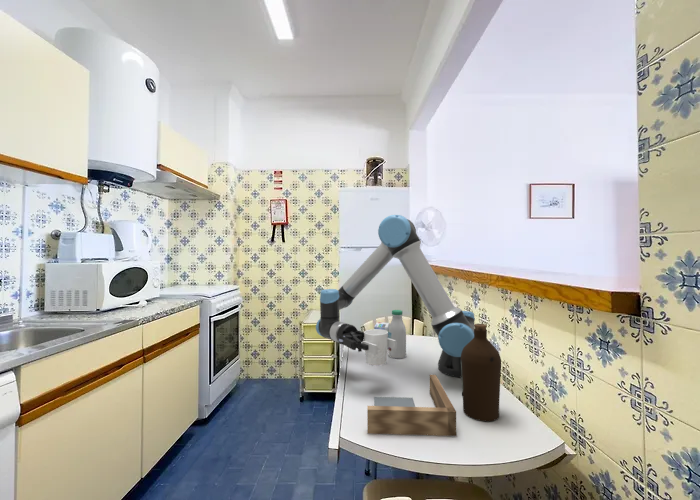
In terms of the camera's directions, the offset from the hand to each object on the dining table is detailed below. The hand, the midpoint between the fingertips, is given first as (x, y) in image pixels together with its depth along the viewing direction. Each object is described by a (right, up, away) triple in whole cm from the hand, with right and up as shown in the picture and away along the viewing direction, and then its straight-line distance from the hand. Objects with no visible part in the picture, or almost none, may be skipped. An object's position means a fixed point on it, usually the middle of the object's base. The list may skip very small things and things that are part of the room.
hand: (386, 347), depth 102 cm
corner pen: (+5, -15, -10) cm, 19 cm away
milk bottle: (+9, -16, +39) cm, 43 cm away
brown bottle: (+26, -16, -11) cm, 32 cm away
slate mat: (+2, -15, -8) cm, 17 cm away
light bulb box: (+4, -16, +53) cm, 56 cm away
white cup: (-3, -6, +4) cm, 8 cm away
